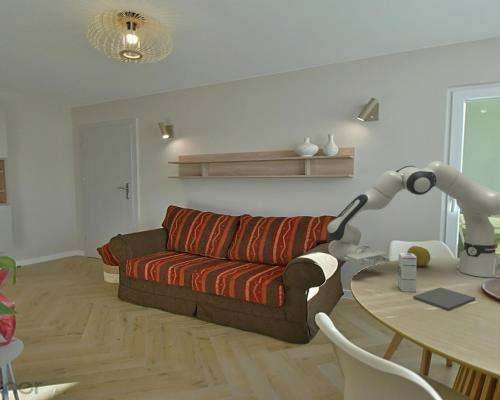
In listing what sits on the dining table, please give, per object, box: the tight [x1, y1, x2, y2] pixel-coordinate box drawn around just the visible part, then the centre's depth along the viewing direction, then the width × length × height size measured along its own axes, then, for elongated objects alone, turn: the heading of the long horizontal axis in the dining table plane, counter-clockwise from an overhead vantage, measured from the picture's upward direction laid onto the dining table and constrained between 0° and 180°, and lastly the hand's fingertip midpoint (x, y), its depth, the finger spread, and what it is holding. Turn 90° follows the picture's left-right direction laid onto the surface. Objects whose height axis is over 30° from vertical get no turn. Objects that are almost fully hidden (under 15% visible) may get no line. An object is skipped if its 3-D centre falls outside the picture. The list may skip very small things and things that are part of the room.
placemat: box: [412, 287, 476, 311], centre depth 125 cm, size 18×13×1 cm
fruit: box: [406, 245, 431, 267], centre depth 169 cm, size 10×11×10 cm
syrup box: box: [397, 252, 417, 293], centre depth 135 cm, size 6×6×14 cm
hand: (381, 261), depth 145 cm, fingers open, 8 cm apart
